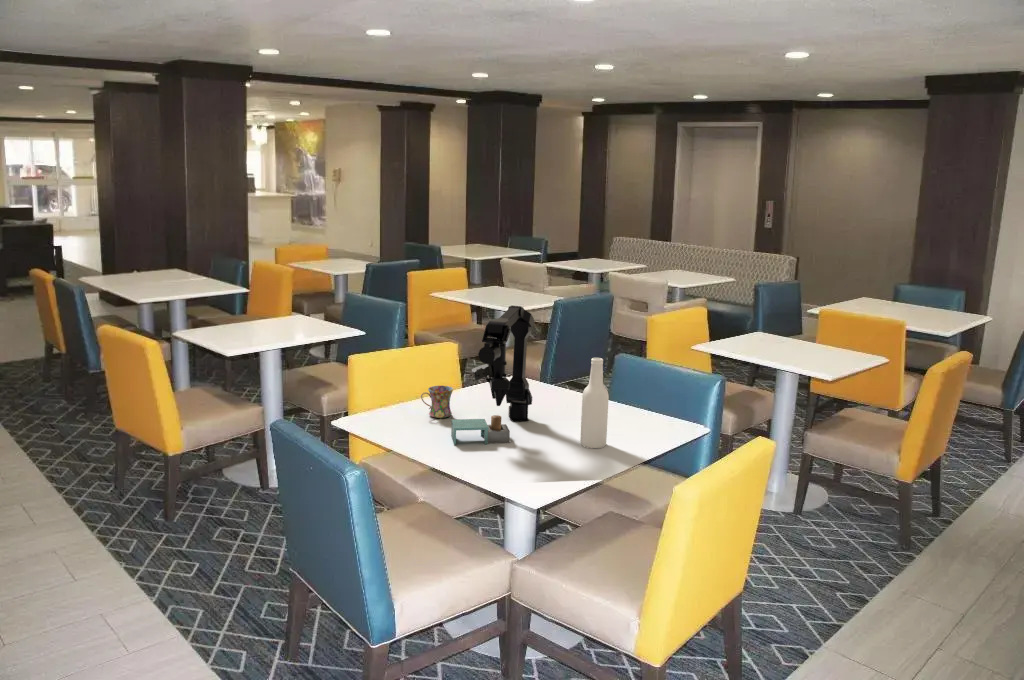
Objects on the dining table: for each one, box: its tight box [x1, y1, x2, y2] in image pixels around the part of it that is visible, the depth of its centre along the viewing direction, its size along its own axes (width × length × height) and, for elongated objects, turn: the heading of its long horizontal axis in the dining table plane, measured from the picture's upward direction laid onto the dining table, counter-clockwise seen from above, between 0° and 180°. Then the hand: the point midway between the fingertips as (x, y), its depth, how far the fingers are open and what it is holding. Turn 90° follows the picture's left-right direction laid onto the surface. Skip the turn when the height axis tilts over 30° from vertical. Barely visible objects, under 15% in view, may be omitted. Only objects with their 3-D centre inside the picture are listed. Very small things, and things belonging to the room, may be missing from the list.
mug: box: [420, 385, 454, 419], centre depth 309 cm, size 12×9×11 cm
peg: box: [490, 414, 502, 430], centre depth 285 cm, size 4×4×8 cm
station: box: [450, 418, 511, 446], centre depth 284 cm, size 19×10×6 cm, turn 100°
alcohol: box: [579, 357, 610, 449], centre depth 279 cm, size 9×9×30 cm
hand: (496, 402), depth 284 cm, fingers open, 9 cm apart
